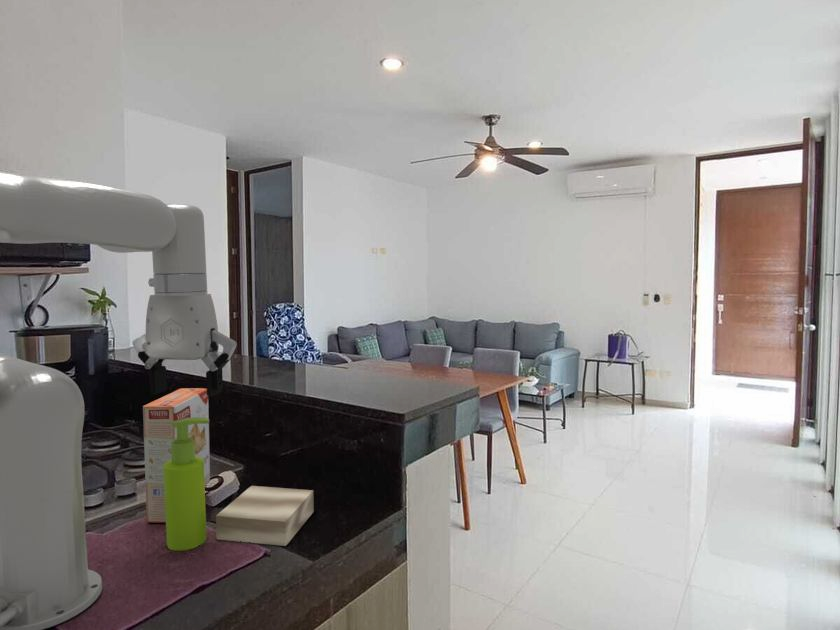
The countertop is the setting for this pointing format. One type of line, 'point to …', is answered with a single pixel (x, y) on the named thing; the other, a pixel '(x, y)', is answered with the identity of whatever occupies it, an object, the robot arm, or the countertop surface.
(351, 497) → the countertop surface
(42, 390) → the robot arm
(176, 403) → the cracker box
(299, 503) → the birch stand
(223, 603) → the countertop surface
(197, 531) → the soap dispenser
